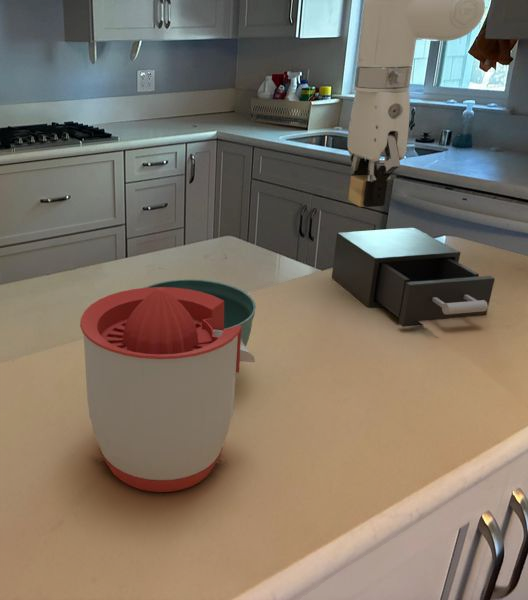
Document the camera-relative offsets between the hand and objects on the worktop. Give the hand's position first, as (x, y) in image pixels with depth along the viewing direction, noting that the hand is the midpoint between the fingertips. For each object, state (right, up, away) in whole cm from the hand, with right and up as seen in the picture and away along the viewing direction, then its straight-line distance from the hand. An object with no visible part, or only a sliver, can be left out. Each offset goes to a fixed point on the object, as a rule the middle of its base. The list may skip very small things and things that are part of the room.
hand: (366, 200), depth 97 cm
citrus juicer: (-33, -33, -30) cm, 56 cm away
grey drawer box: (+8, -14, +10) cm, 19 cm away
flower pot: (-30, -26, -15) cm, 42 cm away
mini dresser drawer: (+9, -18, -1) cm, 20 cm away
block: (0, 0, 0) cm, 0 cm away
